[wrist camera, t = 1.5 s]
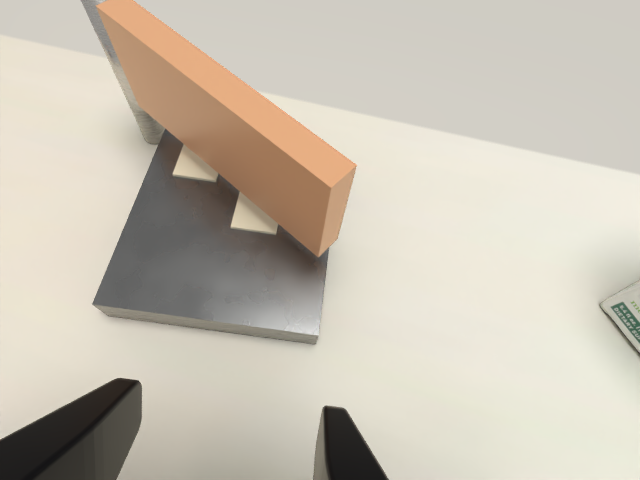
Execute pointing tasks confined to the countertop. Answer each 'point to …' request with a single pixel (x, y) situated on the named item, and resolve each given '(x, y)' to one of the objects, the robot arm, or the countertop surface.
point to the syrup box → (626, 312)
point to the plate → (205, 247)
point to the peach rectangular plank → (232, 126)
